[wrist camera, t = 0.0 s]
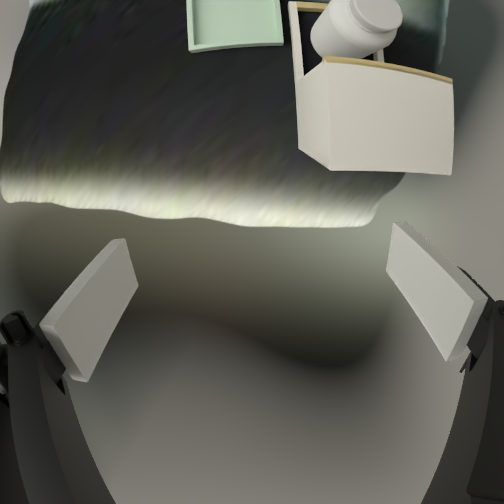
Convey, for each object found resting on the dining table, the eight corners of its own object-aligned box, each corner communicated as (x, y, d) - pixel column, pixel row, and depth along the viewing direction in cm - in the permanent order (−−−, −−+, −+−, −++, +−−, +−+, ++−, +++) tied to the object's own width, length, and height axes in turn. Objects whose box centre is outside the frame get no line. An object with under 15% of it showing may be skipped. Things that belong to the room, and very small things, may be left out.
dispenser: (287, 5, 27) (308, -54, 12) (373, 14, 27) (432, -24, 12) (298, 148, 37) (330, 170, 22) (382, 150, 37) (451, 175, 22)
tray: (188, -15, 25) (186, -19, 24) (275, -23, 25) (275, -27, 23) (191, 53, 31) (188, 50, 29) (282, 45, 30) (283, 42, 29)
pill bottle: (368, 32, 28) (419, 2, 15) (354, 74, 32) (405, 57, 18) (317, 10, 27) (349, -35, 14) (302, 52, 31) (330, 19, 17)
